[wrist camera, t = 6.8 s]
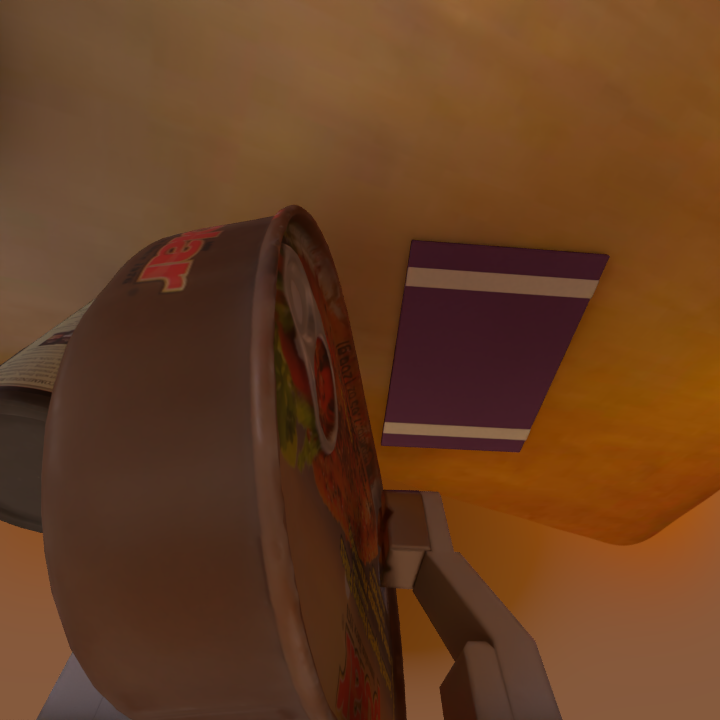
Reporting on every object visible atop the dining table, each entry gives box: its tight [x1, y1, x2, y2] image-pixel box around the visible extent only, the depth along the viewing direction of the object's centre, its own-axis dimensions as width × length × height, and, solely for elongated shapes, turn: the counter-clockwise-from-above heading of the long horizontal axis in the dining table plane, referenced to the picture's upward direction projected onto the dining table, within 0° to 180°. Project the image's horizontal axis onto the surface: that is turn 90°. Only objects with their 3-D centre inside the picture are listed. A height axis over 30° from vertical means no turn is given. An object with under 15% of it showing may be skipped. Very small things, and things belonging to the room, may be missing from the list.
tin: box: [41, 205, 407, 720], centre depth 9 cm, size 15×3×8 cm, turn 9°
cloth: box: [381, 240, 610, 452], centre depth 31 cm, size 14×20×1 cm
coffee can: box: [0, 298, 96, 533], centre depth 24 cm, size 10×10×14 cm
